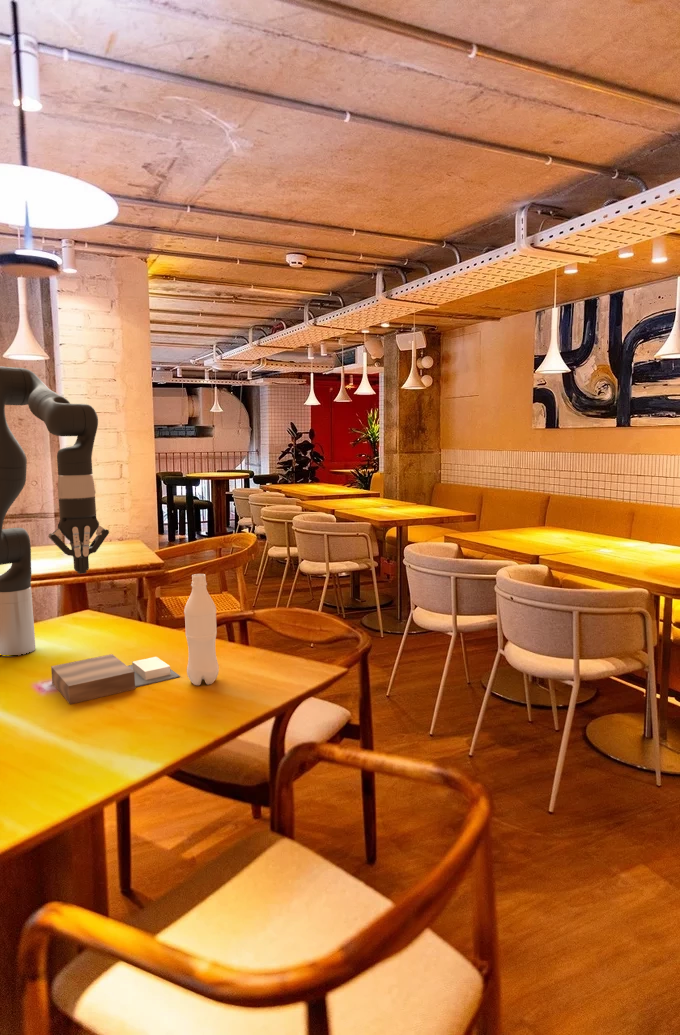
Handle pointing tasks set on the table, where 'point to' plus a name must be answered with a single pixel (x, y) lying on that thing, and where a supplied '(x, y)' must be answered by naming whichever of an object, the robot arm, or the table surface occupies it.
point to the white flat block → (151, 668)
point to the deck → (92, 678)
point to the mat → (141, 681)
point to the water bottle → (201, 633)
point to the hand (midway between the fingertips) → (81, 572)
